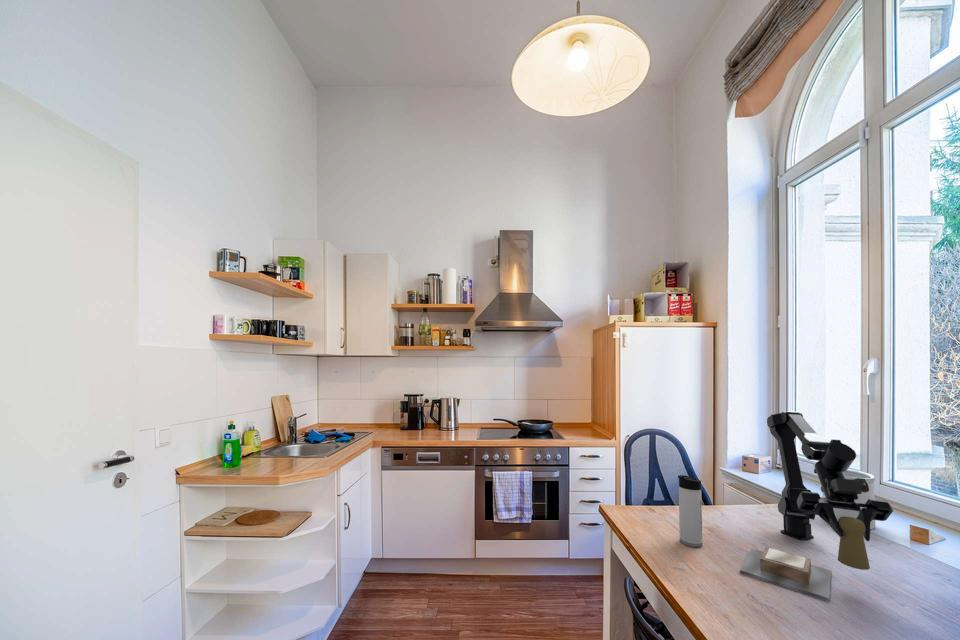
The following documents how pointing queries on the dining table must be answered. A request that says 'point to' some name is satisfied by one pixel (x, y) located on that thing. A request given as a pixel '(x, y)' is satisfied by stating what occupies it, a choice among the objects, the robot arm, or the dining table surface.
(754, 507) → the dining table surface
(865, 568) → the cork
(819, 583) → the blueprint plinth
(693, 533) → the travel mug
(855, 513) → the utensil holder
